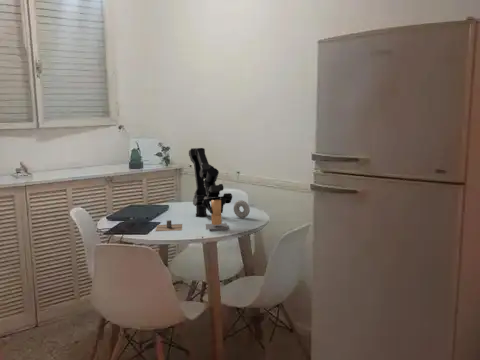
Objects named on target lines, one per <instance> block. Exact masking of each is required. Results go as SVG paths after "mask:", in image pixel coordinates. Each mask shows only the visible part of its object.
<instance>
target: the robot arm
mask: <svg viewBox="0 0 480 360" xmlns="http://www.w3.org/2000/svg"><path fill="white" fill-rule="evenodd" d="M205 151H206V149H205V148H204V147H195V148H194V147H193V148H192V147H191V148H190V149H189V150H188V156H189V159H190V162H191V163H193V167H194V176H195V185H196V189H195V190H194V191H195V192H194V196H193V199H192V205H193V206H194V207H196V208H195V210H196V213H195V217H208V212H209V213H210V215H211V214H212V209H211V203H210V202H211V200H221V214H223V213H224V205H226V204H230V203H231V202H232V200H233V195H232V193H230V192H227V193H226V192H225V193H223V196H220V195H221V191H222V192H223V191H224V184H223V183H219V184H216V182H217V180H218V176H219V170H218V169H217V168H216V167H214V166H213V165H212V164H209V160H208V157H207V155H206V152H205ZM207 211H208V212H207Z"/></svg>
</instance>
